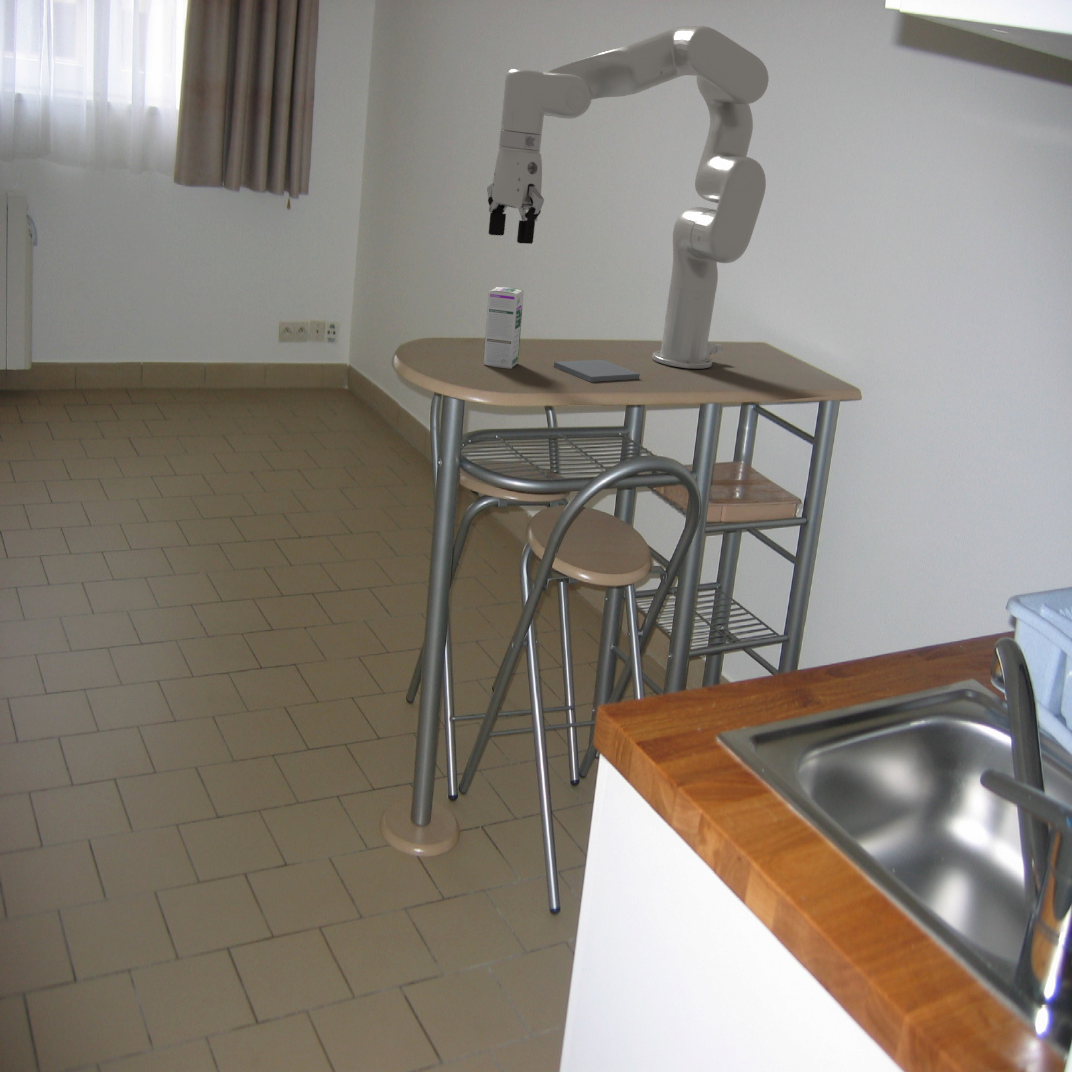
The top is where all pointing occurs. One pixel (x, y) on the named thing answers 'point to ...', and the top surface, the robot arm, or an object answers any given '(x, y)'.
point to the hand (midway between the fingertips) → (510, 239)
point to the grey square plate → (596, 370)
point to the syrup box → (503, 327)
